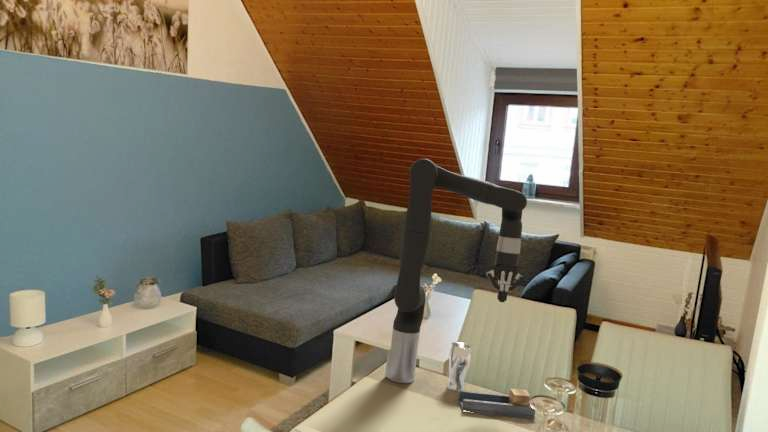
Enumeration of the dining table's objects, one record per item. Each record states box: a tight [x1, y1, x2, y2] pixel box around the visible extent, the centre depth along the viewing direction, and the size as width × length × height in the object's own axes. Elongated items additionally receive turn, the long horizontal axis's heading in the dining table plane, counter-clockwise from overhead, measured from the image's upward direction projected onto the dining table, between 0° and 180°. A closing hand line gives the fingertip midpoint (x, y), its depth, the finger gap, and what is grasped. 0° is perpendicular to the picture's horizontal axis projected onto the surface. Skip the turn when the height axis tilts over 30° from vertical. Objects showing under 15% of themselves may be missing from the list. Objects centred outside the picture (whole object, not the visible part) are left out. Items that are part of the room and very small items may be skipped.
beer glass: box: [446, 341, 472, 393], centre depth 183 cm, size 7×7×15 cm
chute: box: [457, 390, 536, 420], centre depth 169 cm, size 22×9×4 cm, turn 91°
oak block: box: [508, 388, 531, 406], centre depth 169 cm, size 5×5×5 cm
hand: (501, 301), depth 182 cm, fingers closed
